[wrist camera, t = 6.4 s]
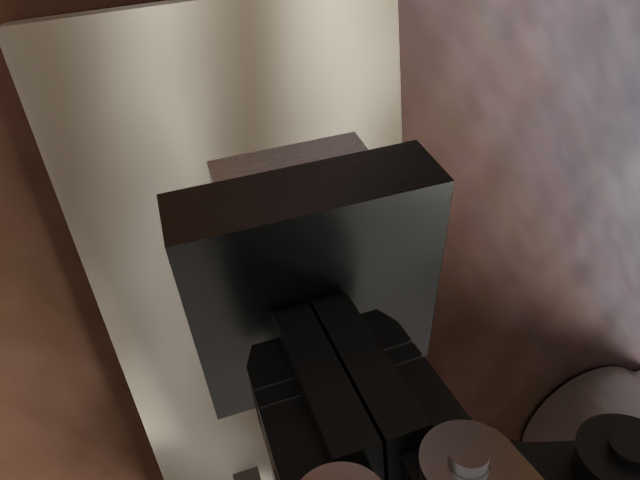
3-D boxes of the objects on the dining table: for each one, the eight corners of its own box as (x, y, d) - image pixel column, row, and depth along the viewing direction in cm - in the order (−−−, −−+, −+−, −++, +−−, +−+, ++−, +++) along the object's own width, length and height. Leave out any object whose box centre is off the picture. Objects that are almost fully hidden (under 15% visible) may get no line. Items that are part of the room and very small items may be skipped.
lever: (400, 122, 11) (454, 180, 9) (372, 525, 24) (392, 578, 23) (153, 172, 10) (164, 248, 8) (267, 564, 23) (280, 622, 22)
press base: (373, -28, 19) (484, -26, 13) (396, 440, 30) (460, 555, 24) (8, 21, 16) (-67, 52, 10) (186, 511, 28) (199, 660, 22)
